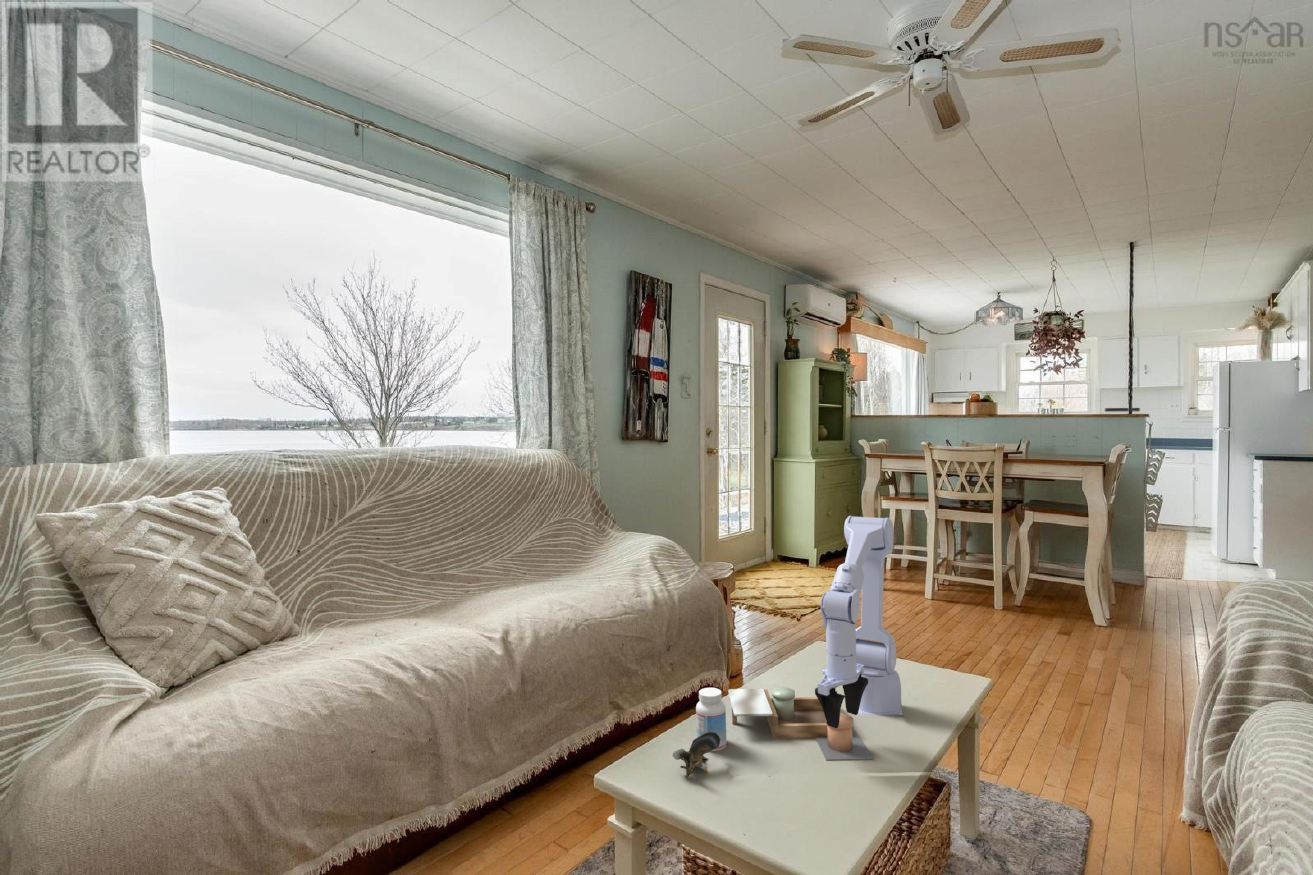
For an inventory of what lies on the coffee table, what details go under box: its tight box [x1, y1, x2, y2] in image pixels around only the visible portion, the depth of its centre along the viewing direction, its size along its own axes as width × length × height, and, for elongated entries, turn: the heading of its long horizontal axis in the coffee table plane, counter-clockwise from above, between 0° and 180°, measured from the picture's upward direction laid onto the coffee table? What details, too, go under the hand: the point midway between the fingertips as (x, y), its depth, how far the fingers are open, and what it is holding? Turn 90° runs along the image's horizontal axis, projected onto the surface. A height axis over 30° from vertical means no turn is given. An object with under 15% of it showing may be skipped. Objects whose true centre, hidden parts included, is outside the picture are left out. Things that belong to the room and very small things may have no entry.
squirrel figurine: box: [672, 732, 721, 779], centre depth 123 cm, size 8×7×9 cm
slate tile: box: [814, 735, 874, 762], centre depth 128 cm, size 9×9×1 cm
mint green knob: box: [771, 686, 796, 720], centre depth 143 cm, size 5×5×6 cm
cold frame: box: [727, 688, 844, 739], centre depth 140 cm, size 24×14×5 cm, turn 89°
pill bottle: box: [695, 687, 727, 752], centre depth 132 cm, size 6×6×11 cm
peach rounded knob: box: [826, 712, 855, 752], centre depth 129 cm, size 5×5×6 cm
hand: (842, 719), depth 128 cm, fingers open, 7 cm apart
